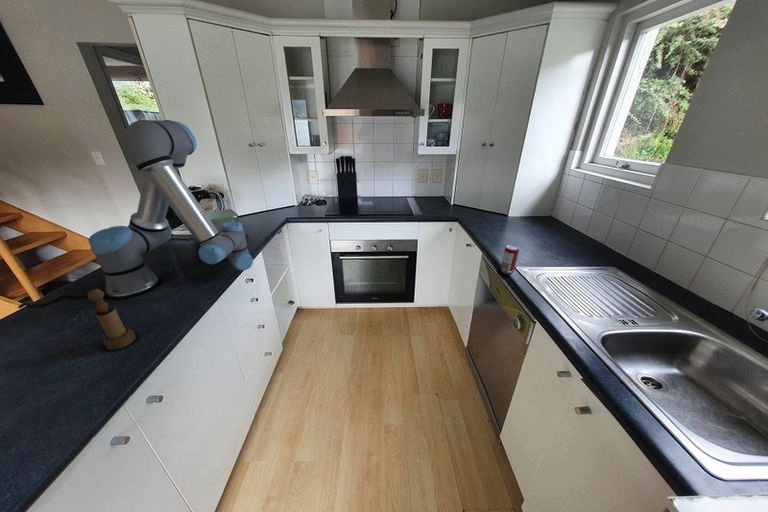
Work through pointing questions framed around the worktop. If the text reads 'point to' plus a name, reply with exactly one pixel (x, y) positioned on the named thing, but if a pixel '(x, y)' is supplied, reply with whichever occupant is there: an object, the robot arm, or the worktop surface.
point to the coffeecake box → (208, 205)
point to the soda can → (509, 258)
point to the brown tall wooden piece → (111, 323)
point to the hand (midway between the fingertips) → (221, 237)
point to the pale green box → (221, 217)
